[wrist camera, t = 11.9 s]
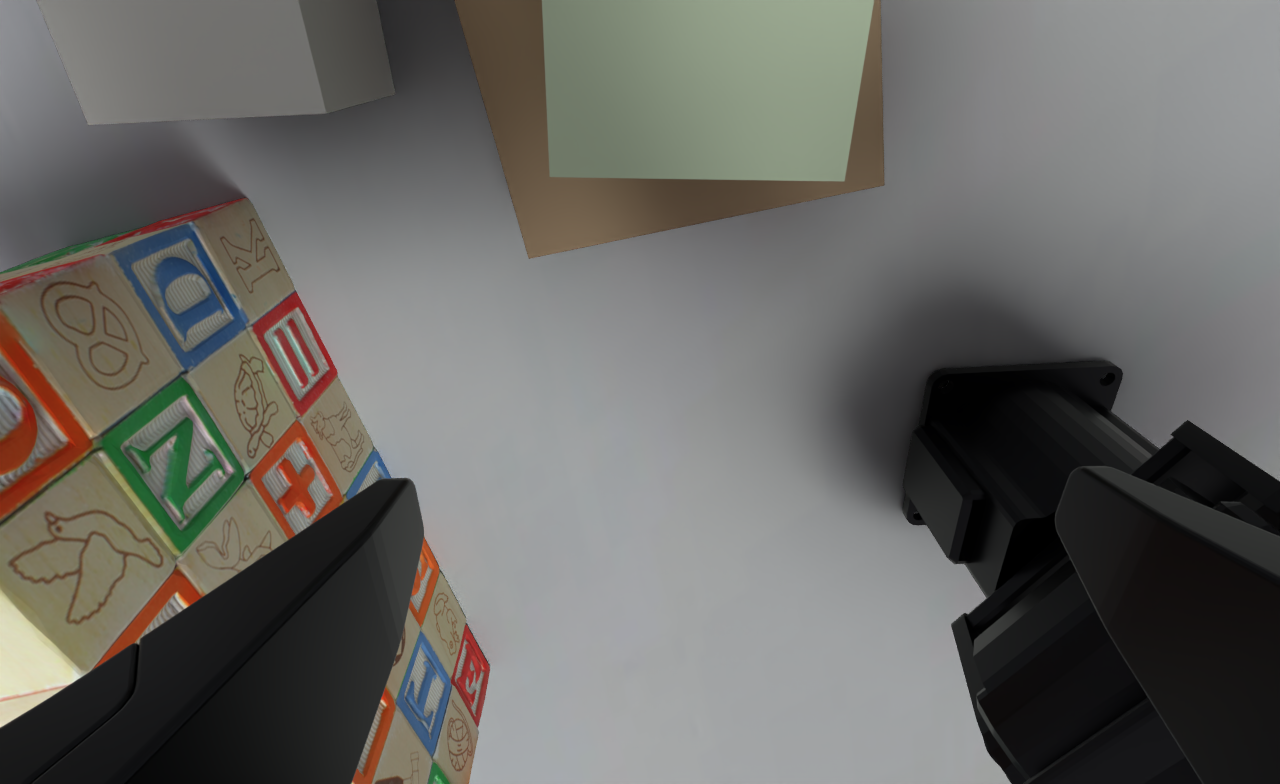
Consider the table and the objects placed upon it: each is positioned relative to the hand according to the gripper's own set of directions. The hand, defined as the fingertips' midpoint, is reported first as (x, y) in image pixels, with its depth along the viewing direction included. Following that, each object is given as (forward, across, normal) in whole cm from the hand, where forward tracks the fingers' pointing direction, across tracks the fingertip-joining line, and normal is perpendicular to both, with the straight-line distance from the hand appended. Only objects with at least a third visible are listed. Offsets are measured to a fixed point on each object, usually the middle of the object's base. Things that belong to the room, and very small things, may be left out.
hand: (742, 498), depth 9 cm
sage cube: (+9, 0, -6) cm, 11 cm away
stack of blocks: (+13, +13, +9) cm, 21 cm away
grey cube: (+13, +10, -7) cm, 18 cm away
